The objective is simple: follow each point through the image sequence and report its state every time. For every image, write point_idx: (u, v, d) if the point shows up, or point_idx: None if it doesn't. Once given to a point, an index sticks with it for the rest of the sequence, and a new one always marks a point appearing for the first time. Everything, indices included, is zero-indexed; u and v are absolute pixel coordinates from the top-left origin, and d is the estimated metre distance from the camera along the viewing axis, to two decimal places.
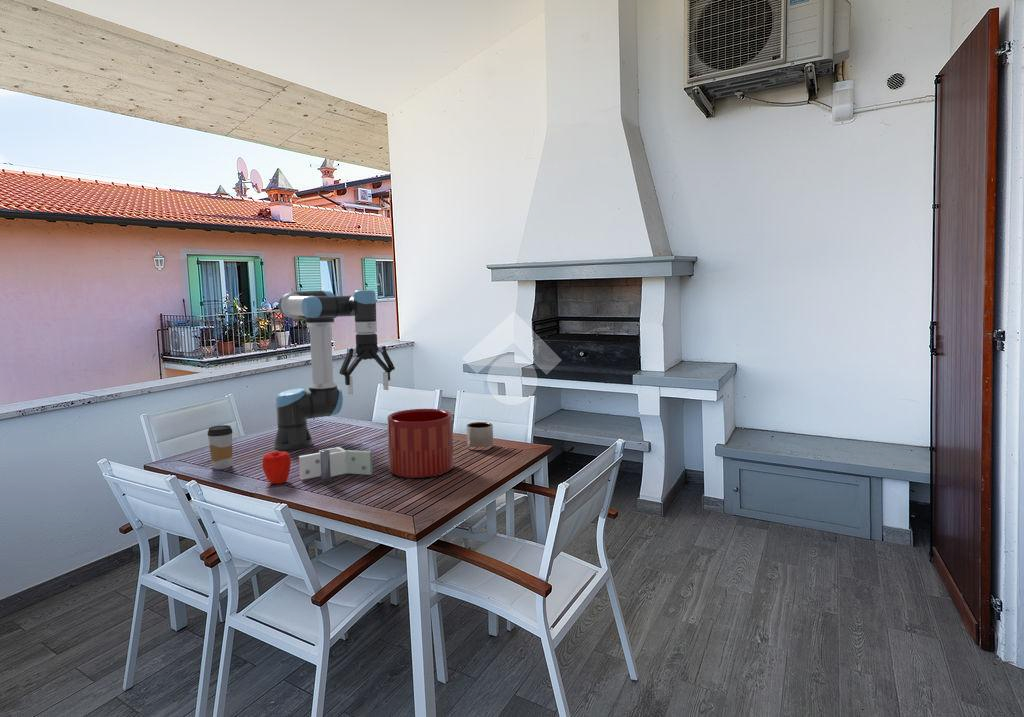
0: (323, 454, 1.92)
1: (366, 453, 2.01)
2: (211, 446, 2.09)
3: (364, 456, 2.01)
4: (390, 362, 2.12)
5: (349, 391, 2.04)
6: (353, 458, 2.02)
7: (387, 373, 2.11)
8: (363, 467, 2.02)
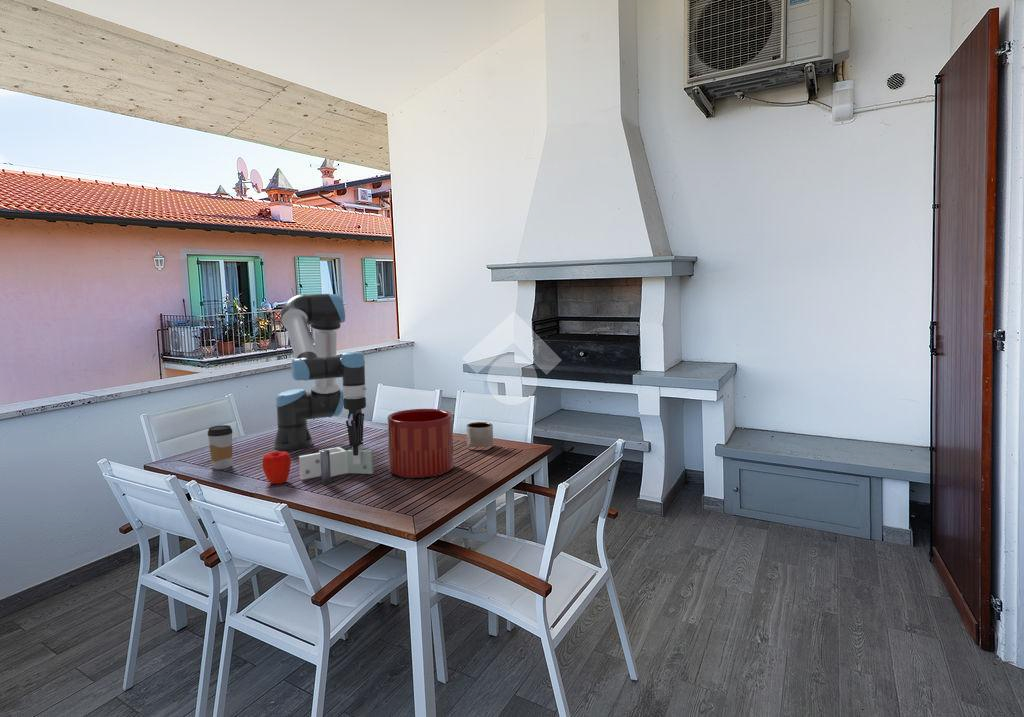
0: (323, 454, 1.92)
1: (367, 452, 2.02)
2: (211, 446, 2.09)
3: (365, 455, 2.02)
4: (362, 432, 2.04)
5: (356, 461, 2.00)
6: None
7: (360, 446, 2.01)
8: (364, 466, 2.02)
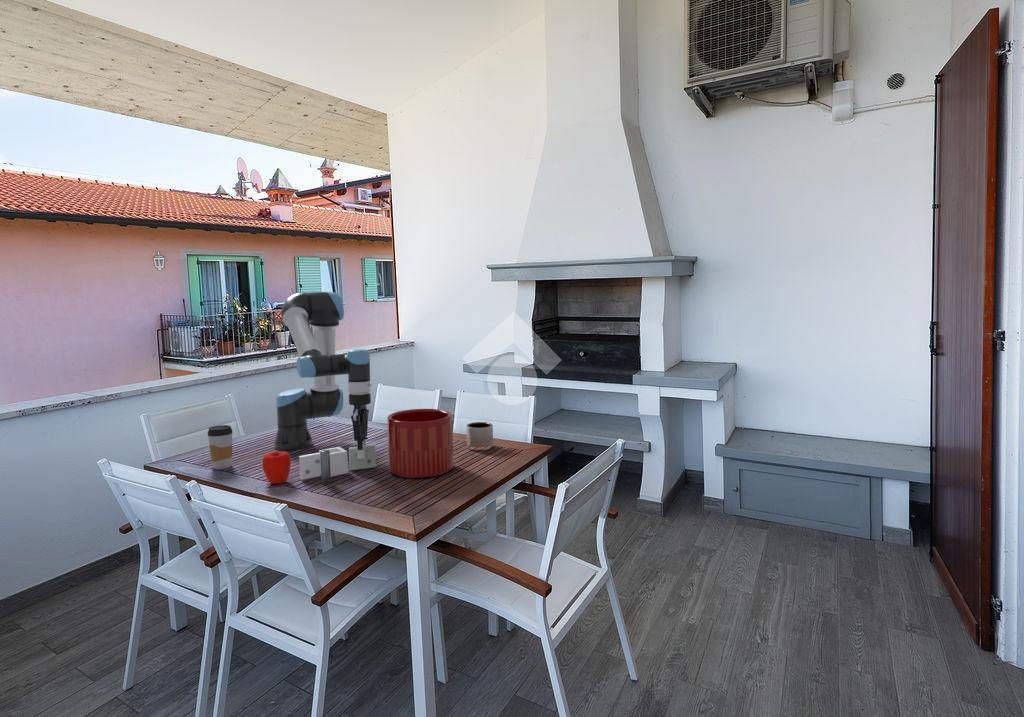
0: (323, 454, 1.92)
1: (371, 447, 2.09)
2: (211, 446, 2.09)
3: (369, 450, 2.09)
4: (367, 427, 2.09)
5: (360, 456, 2.06)
6: None
7: None
8: (368, 461, 2.09)
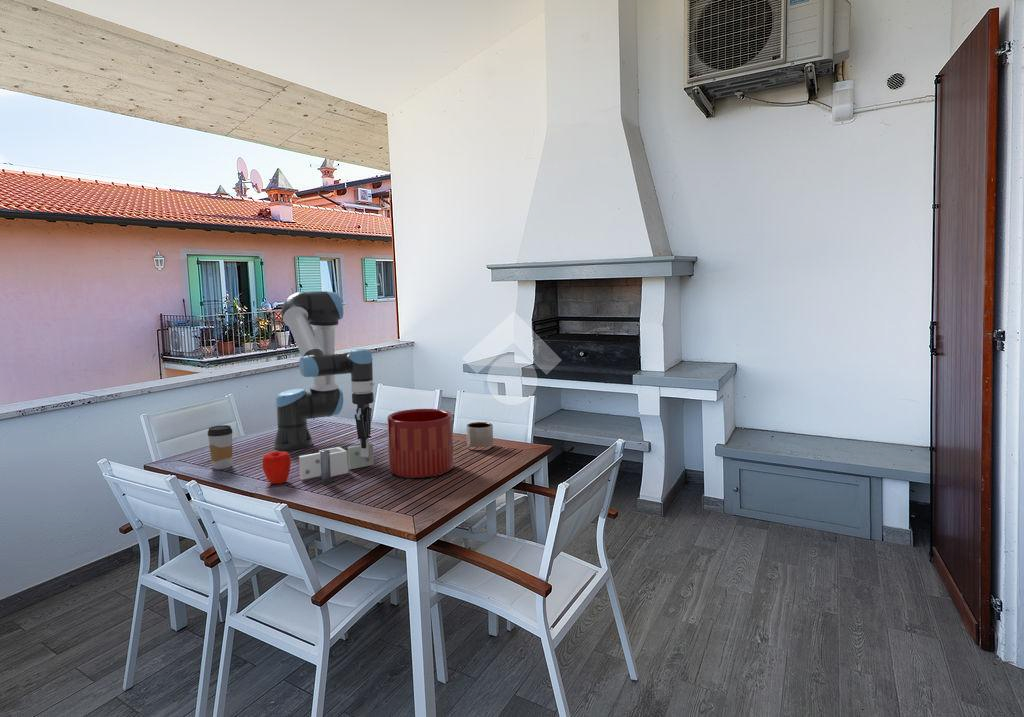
0: (323, 454, 1.92)
1: (369, 445, 2.12)
2: (211, 446, 2.09)
3: None
4: (370, 426, 2.12)
5: (364, 454, 2.08)
6: (357, 453, 2.09)
7: (368, 439, 2.09)
8: (367, 459, 2.11)
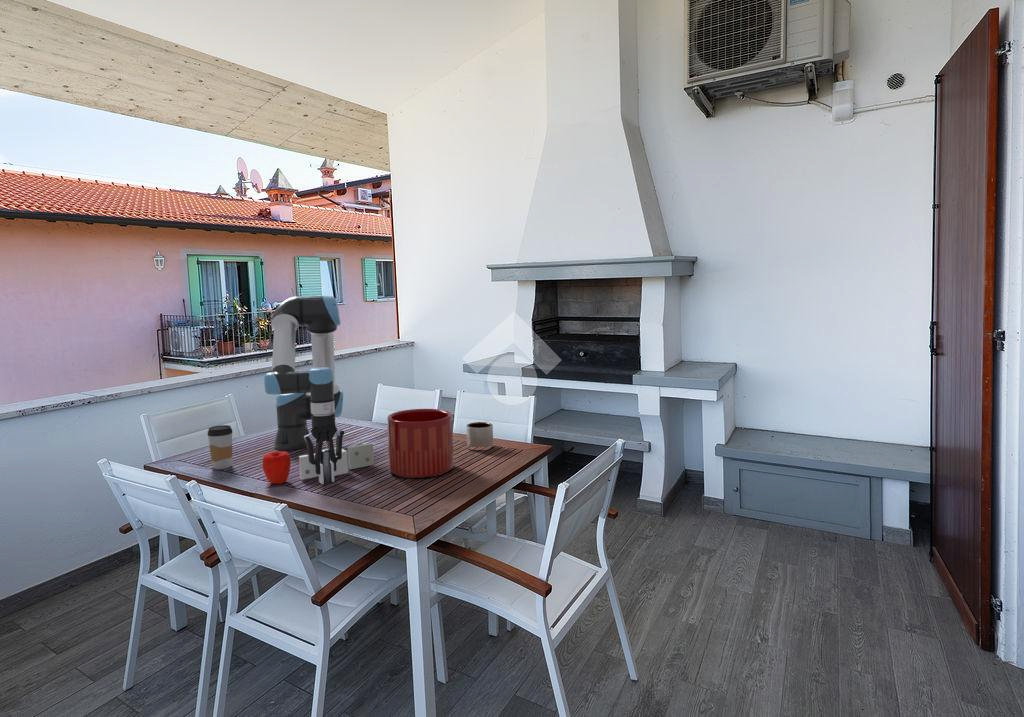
0: (323, 454, 1.92)
1: (369, 445, 2.12)
2: (211, 446, 2.09)
3: (367, 448, 2.11)
4: (340, 450, 1.96)
5: (320, 480, 1.93)
6: (357, 453, 2.09)
7: (333, 463, 1.94)
8: (367, 459, 2.11)
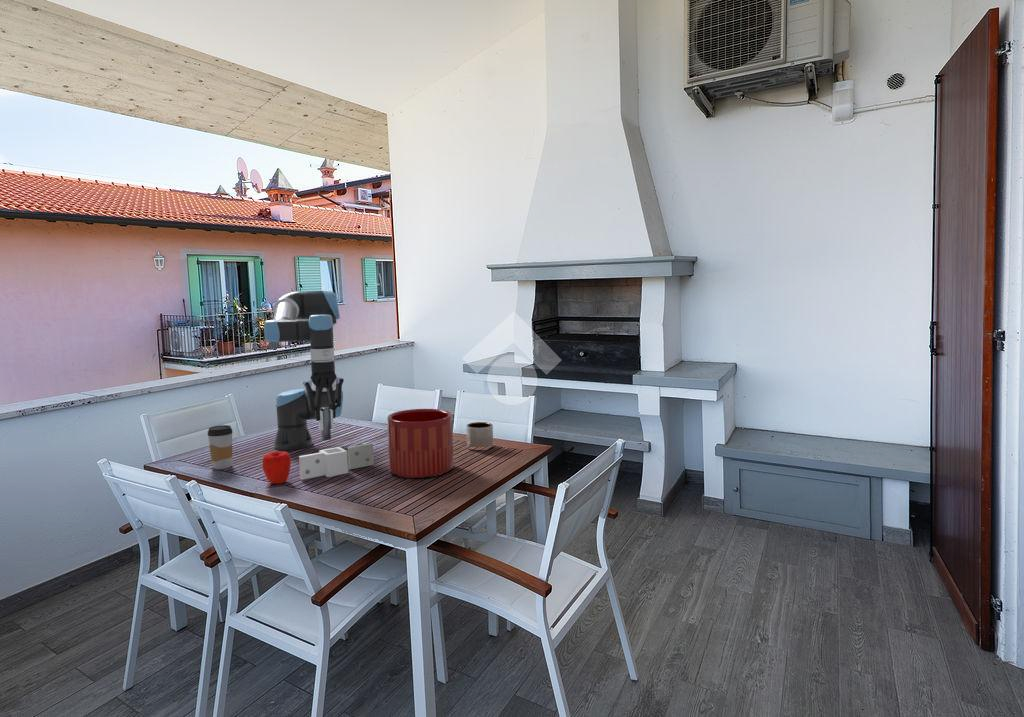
0: (323, 411, 1.94)
1: (369, 445, 2.12)
2: (211, 446, 2.09)
3: (367, 448, 2.11)
4: (339, 397, 1.97)
5: (319, 427, 1.95)
6: (357, 453, 2.09)
7: (332, 410, 1.96)
8: (367, 459, 2.11)
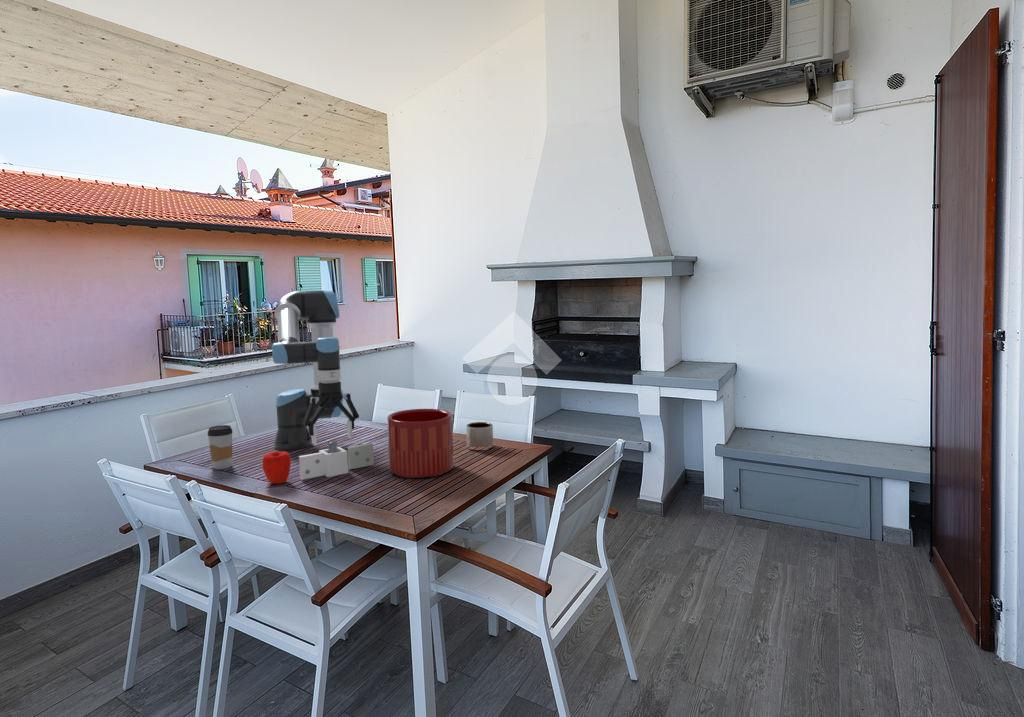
0: (331, 446, 2.03)
1: (369, 445, 2.12)
2: (211, 446, 2.09)
3: (367, 448, 2.11)
4: (354, 410, 2.07)
5: (313, 441, 2.00)
6: (357, 453, 2.09)
7: (351, 422, 2.07)
8: (367, 459, 2.11)
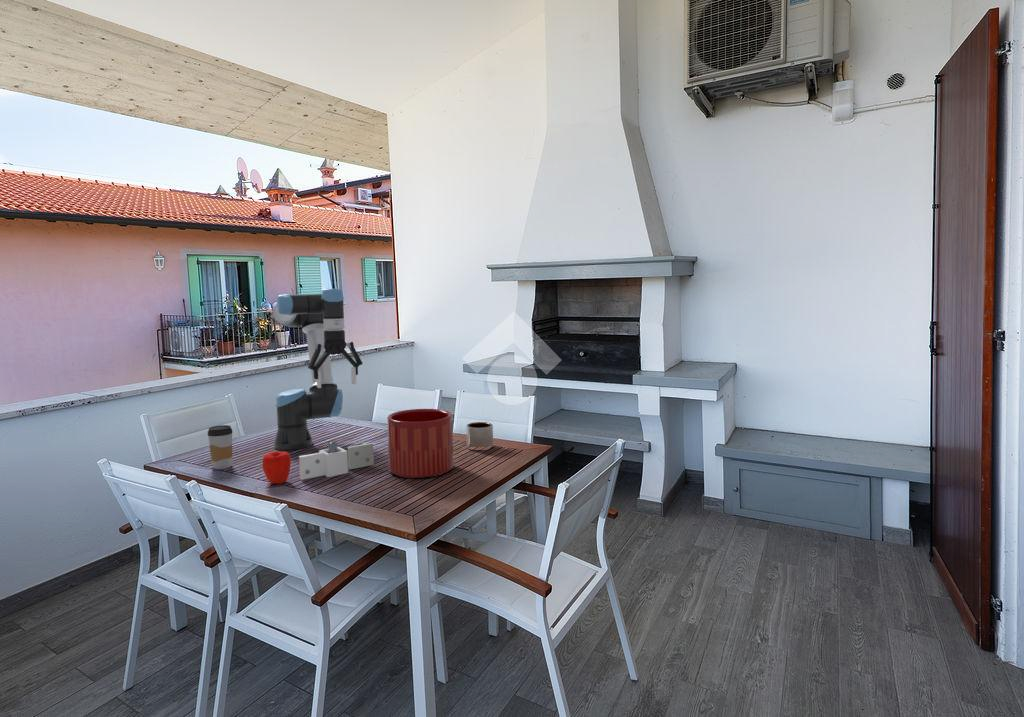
0: (331, 446, 2.03)
1: (369, 445, 2.12)
2: (211, 446, 2.09)
3: (367, 448, 2.11)
4: (358, 357, 2.22)
5: (317, 385, 2.15)
6: (357, 453, 2.09)
7: (355, 368, 2.21)
8: (367, 459, 2.11)
